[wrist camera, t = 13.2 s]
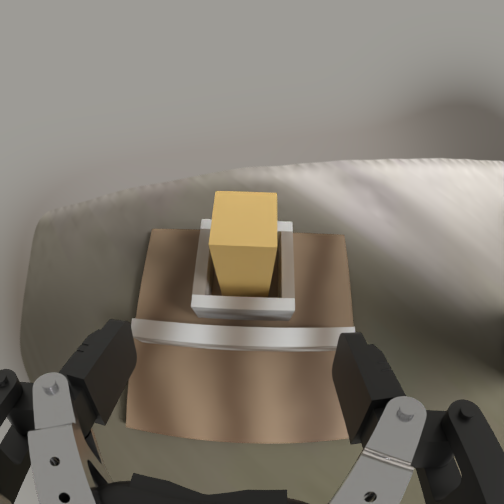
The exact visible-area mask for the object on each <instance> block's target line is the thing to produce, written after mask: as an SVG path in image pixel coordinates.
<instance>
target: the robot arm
mask: <svg viewBox="0 0 504 504" xmlns="http://www.w3.org/2000/svg"><path fill="white" fill-rule="evenodd" d="M136 362H137V352H136V348H135V343H134V339H133V334H132V329H131V325H130V323H129V322H128V321H121V320H114V319H110V320H109V321H108V322H107V323H106V324H105V326H104V327H103V328H102V329H101V330H99V329H98V330H97V331H95V332H94V333H92V334H90V335H89V336H88V337H87V338H86V339H85V341H84V342H83V343H82V345H80V347H79V348H78V349H77V351H75V353H74V354H73V355H72V356H71V358H70V359H69V360H68V361H67V363H66V364H65V365H64V366H63V368H62V369H61V370H60V372H59V373H55V372H52V373H47V374H44V375H42V376H40V377H39V378H38V379H37V380H36V381H35V382H34V383H26V382H19V380H18V378H17V376H16V374H15V373H14V372H13V371H12V370H9V369H4V370H0V426H1V425H2V423H3V422H4V420H5V419H6V417H7V418H8V419H9V421H10V422H11V424H12V425H11V427H10V429H9V430H8V432H7V434H6V435H5V437H4V439H3V440H2V442H1V444H0V504H14V502H15V499H16V497H17V495H18V492H19V490H20V488H21V485H22V483H23V481H24V479H25V476H26V474H27V472H28V470H29V468H30V465H31V466H32V471H33V477H34V482H35V487H36V492H37V496H38V500H39V504H308V503H305V502H303V501H299V500H295V499H290V498H287V490H243V491H237V492H229V493H221V494H212V495H206V494H201V493H199V492H196V491H193V490H190V489H187V488H185V487H182V486H180V485H177V484H175V483H172V482H170V481H166V480H161V479H157V478H152V477H148V476H144V475H139V474H136V473H133V476H132V479H131V481H119V482H113V480H112V478H111V476H110V475H109V473H108V471H107V469H106V466H105V464H104V461H103V458H102V456H101V453H100V450H99V447H98V444H97V441H96V438H95V435H94V432H93V430H92V426H93V424H94V422H95V423H98V424H101V425H106V423H107V421H108V419H109V417H110V415H111V413H112V411H113V409H114V407H115V405H116V403H117V401H118V399H119V397H120V395H121V393H122V391H123V390H124V388H125V386H126V384H127V382H128V380H129V378H130V376H131V374H132V372H133V370H134V369H135V366H136ZM332 378H333V382H334V386H335V389H336V393H337V396H338V400H339V403H340V407H341V410H342V414H343V417H344V421H345V425H346V428H347V432H348V436H349V440H350V444H358V443H362V447H363V450H362V452H361V453H360V455H359V457H358V459H357V460H356V462H355V464H354V465H353V467H352V468H351V470H350V472H349V473H348V475H347V476H346V478H345V479H344V481H343V482H342V484H341V485H340V487H339V488H338V490H337V491H336V493H335V494H334V496H333V497H332V498H331V500H330V501H329V502H328V504H399V503H400V501H401V499H402V497H403V495H404V492H405V490H406V488H407V485H408V483H409V481H410V478H411V476H412V473H413V470H414V468H416V471H417V474H418V478H419V481H420V484H421V488H422V491H423V495H424V499H425V502H426V504H504V452H503V450H502V448H501V446H500V444H499V442H498V440H497V438H496V437H495V435H494V433H493V431H492V429H491V427H490V426H489V424H488V422H487V420H486V419H485V417H484V415H483V414H482V412H481V410H480V409H479V407H478V406H477V405H476V404H474V403H473V402H471V401H468V400H457V401H455V402H453V403H452V404H451V405H450V407H449V408H448V410H447V411H431V410H426V409H425V407H424V406H423V404H422V403H421V402H419V401H418V400H416V399H414V398H412V397H407V396H406V395H405V393H404V391H403V389H402V387H401V386H400V384H399V382H398V380H397V378H396V376H395V374H394V372H393V371H392V370H391V367H390V365H389V363H387V360H386V358H385V356H384V354H383V353H382V351H380V350H379V349H378V348H377V347H376V346H374V345H373V344H370V345H367V343H366V341H365V339H364V337H363V335H362V333H361V332H352V333H341V334H340V336H339V339H338V344H337V348H336V352H335V356H334V361H333V365H332ZM454 456H455V458H456V461H457V463H458V466H459V468H460V471H461V474H462V478H461V475H460V472H459V470H458V467H457V465H456V462H455V460H454Z"/></svg>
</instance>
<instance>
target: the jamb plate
mask: <svg viewBox="0 0 504 504" xmlns="http://www.w3.org/2000/svg"><path fill="white" fill-rule="evenodd" d="M211 222H212V219H202V221H201V228H200V230H192V229H152V232H151V237H150V241H149V246H148V251H147V256H146V261H145V266H144V271H143V276H142V282H141V287H140V293H139V299H138V305H137V312H136V318H132V324H131V329H132V334H133V339H134V343H135V348H136V352H137V362H136V366H135V369H134V370H133V372H132V374H131V376H130V378H129V381H128V395H127V414H126V427H129V428H133V429H138V430H142V431H147V432H152V433H158V434H163V435H169V436H176V437H183V438H190V439H199V440H208V441H219V442H234V443H303V442H318V441H329V440H338V439H347V438H349V436H348V432H347V428H346V425H345V421H344V417H343V414H342V410H341V407H340V403H339V400H338V396H337V393H336V389H335V386H334V382H333V378H332V365H333V361H334V356H335V352H336V348H337V344H338V339H339V336H340V334H341V333H352V332H355V327H354V326H353V312H352V299H351V288H350V278H349V269H348V260H347V252H346V244H345V237H344V235H336V234H315V233H293V227H292V222H284V221H277V252H276V258H275V263H274V268H273V273H272V279H271V284H270V289H269V294H268V298H262V297H234V296H222V293H221V289H220V286H219V282H218V278H217V275H216V271H215V267H214V264H213V260H212V256H211V252H210V248H209V237H210V229H211Z"/></svg>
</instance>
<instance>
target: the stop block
mask: <svg viewBox="0 0 504 504" xmlns="http://www.w3.org/2000/svg"><path fill="white" fill-rule="evenodd" d="M209 248H210V252H211V256H212V260H213V264H214V267H215V271H216V275H217V278H218V282H219V286H220V289H221V293H222V296H234V297H262V298H268V294H269V289H270V284H271V279H272V273H273V268H274V263H275V258H276V252H277V193H264V192H235V191H216V193H215V200H214V207H213V214H212V222H211V229H210V237H209Z"/></svg>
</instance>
